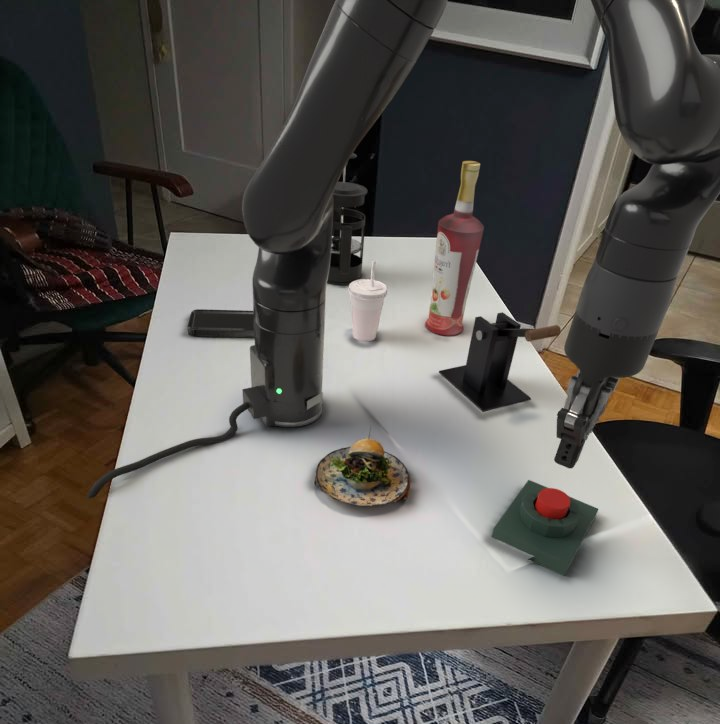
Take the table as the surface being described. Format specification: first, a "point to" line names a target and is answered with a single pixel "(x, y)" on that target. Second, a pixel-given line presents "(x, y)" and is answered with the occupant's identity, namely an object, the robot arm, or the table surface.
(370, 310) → the smoothie
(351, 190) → the french press
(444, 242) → the liquor
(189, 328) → the phone
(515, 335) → the toast lever
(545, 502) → the power button
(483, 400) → the black stand
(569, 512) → the green piece
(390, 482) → the burger
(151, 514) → the table surface
